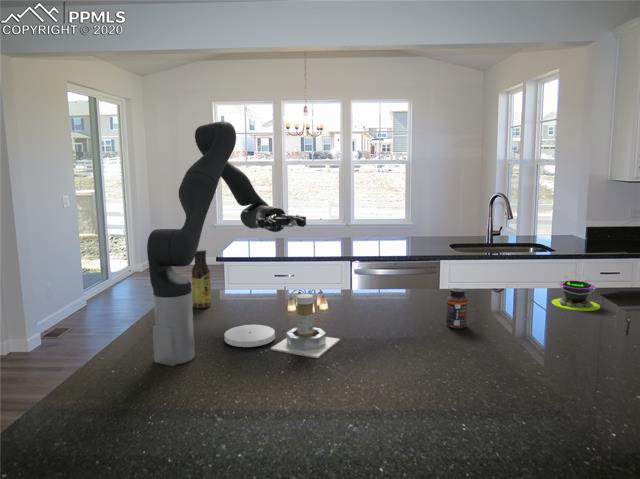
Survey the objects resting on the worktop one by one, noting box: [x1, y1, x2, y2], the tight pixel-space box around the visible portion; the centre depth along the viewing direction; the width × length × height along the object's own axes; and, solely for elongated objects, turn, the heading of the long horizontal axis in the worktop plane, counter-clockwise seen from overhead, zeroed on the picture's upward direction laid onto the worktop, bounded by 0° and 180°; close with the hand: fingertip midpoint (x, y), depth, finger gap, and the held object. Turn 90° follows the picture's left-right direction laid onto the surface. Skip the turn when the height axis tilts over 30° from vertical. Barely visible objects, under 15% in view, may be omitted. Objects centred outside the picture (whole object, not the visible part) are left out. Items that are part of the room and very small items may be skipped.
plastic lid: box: [224, 324, 276, 348], centre depth 139 cm, size 14×14×2 cm
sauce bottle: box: [191, 248, 212, 309], centre depth 171 cm, size 7×6×20 cm
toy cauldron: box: [551, 272, 601, 312], centre depth 171 cm, size 15×15×11 cm
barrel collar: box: [286, 326, 327, 351], centre depth 135 cm, size 10×10×3 cm
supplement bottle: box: [445, 288, 468, 330], centre depth 149 cm, size 6×6×11 cm
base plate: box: [270, 336, 341, 359], centre depth 135 cm, size 14×14×1 cm
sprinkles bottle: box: [296, 293, 314, 338], centre depth 134 cm, size 5×5×13 cm
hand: (289, 224), depth 141 cm, fingers open, 8 cm apart
